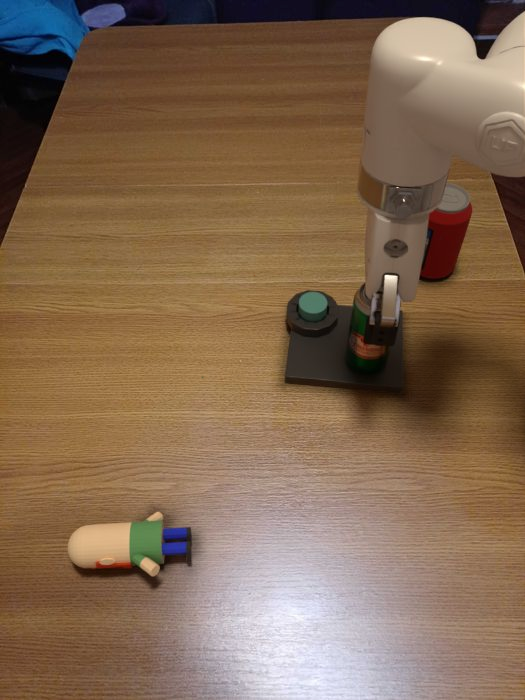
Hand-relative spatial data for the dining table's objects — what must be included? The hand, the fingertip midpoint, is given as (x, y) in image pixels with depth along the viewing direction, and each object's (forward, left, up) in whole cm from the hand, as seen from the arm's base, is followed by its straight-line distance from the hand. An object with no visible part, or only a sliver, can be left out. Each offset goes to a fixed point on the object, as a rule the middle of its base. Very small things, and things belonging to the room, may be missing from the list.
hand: (379, 307), depth 67 cm
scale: (+3, -3, -11) cm, 12 cm away
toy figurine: (+23, +25, -12) cm, 36 cm away
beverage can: (-8, -19, -12) cm, 23 cm away
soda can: (0, 0, -10) cm, 10 cm away
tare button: (+7, -6, -9) cm, 13 cm away
